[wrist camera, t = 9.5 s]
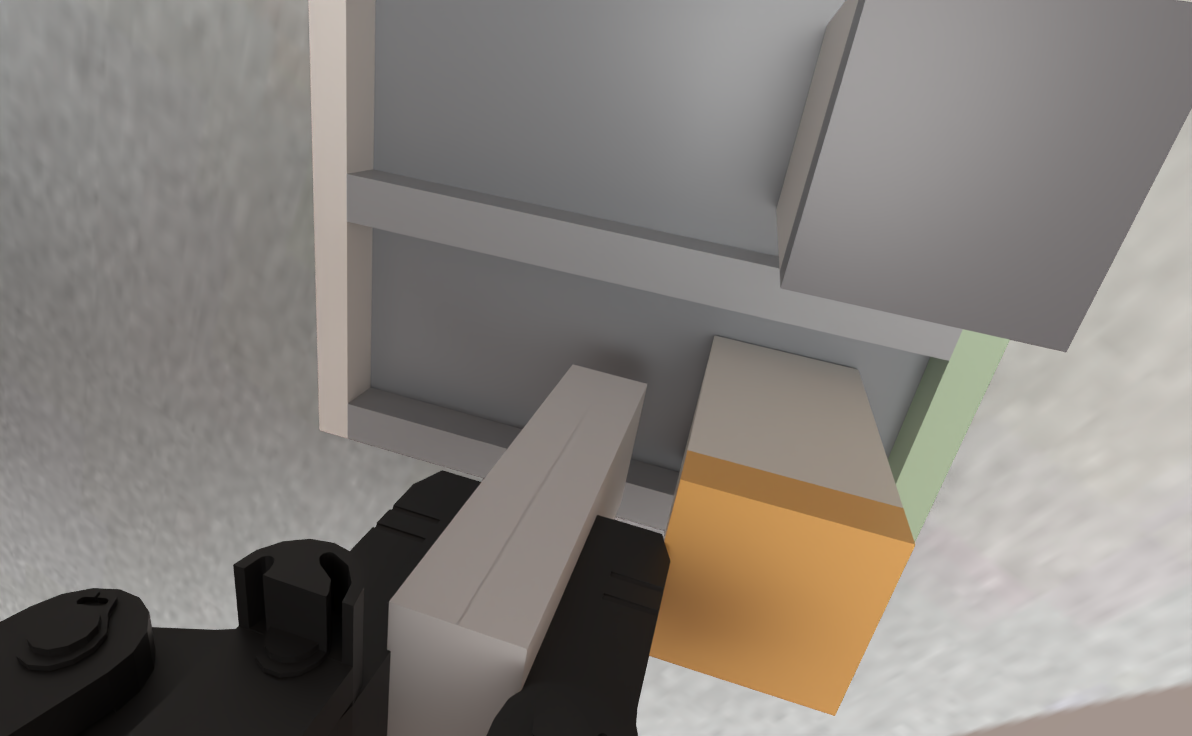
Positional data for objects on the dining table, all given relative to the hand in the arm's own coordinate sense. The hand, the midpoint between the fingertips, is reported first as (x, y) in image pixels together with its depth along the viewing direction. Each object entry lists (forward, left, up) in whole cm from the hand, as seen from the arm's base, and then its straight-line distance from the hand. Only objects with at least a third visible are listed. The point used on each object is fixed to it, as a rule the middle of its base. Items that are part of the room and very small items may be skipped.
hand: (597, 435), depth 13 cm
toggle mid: (+4, +6, -2) cm, 8 cm away
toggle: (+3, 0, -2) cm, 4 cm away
